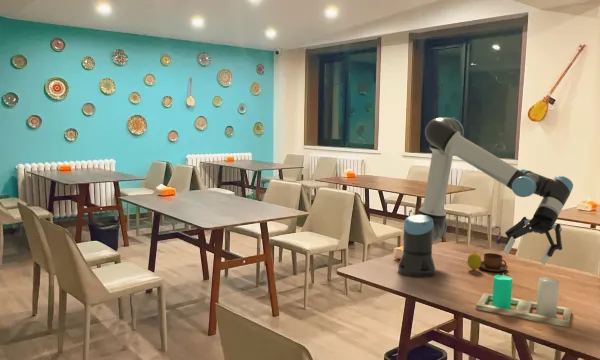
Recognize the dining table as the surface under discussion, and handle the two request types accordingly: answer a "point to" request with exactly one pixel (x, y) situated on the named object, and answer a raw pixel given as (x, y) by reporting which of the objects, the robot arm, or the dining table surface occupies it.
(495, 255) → the cup and saucer
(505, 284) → the candle
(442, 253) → the dining table surface
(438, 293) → the dining table surface
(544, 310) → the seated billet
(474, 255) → the lemon
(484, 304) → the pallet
